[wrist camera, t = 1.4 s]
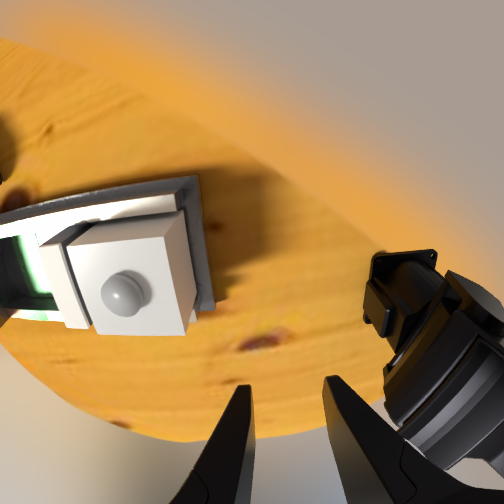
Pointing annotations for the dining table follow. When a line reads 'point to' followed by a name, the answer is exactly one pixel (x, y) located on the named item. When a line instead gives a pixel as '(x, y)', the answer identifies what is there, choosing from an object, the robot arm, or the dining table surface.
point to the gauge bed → (92, 210)
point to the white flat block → (65, 276)
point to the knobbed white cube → (136, 274)
